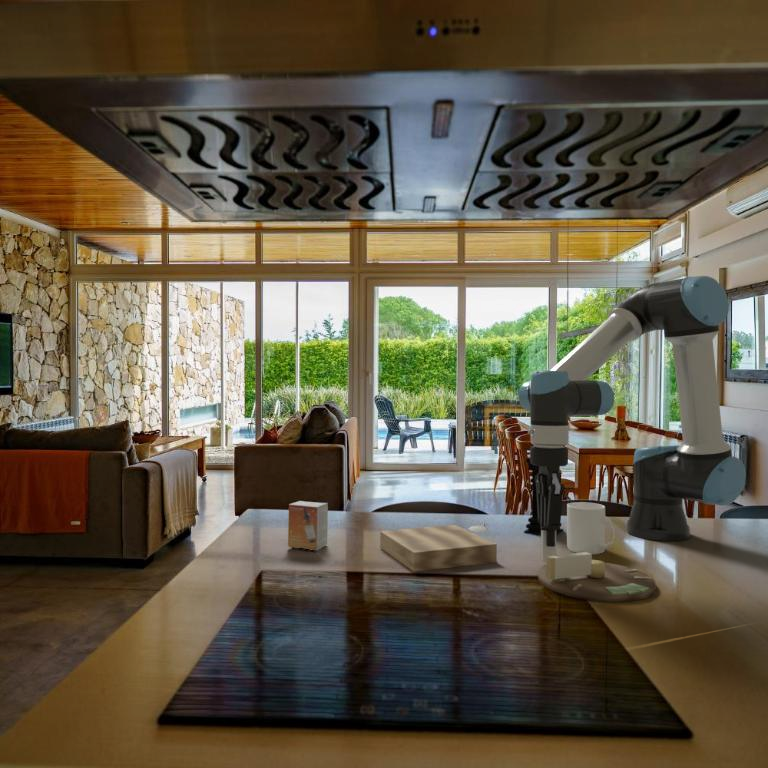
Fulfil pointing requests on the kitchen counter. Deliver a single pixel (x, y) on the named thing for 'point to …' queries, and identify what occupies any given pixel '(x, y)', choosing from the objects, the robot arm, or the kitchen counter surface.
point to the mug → (587, 528)
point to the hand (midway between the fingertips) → (548, 560)
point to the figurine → (477, 528)
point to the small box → (308, 525)
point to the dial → (603, 585)
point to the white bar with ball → (574, 566)
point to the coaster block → (437, 547)
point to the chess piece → (535, 504)
